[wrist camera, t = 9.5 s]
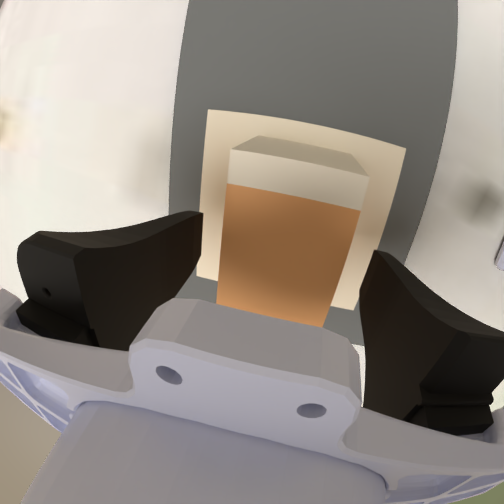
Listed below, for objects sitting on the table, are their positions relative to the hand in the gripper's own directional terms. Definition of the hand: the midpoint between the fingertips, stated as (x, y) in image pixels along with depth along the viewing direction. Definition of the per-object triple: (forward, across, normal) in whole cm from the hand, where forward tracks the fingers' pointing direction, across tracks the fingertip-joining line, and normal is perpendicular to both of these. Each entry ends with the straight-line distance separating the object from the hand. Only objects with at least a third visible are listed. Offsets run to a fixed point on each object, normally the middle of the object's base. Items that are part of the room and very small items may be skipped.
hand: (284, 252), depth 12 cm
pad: (+5, 0, 0) cm, 5 cm away
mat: (+5, 0, -8) cm, 9 cm away
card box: (+4, 0, 0) cm, 4 cm away
